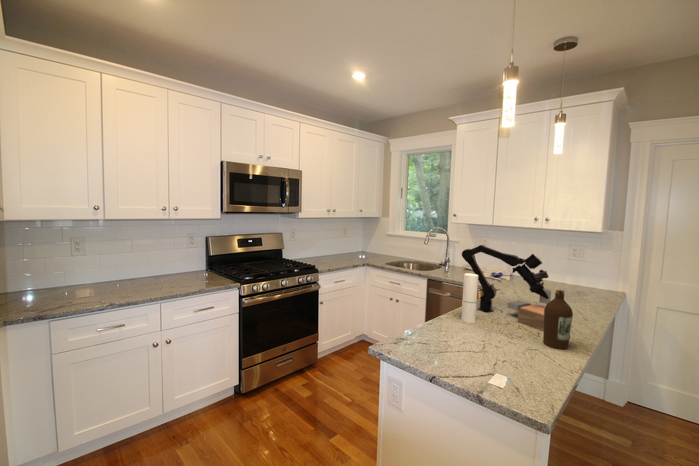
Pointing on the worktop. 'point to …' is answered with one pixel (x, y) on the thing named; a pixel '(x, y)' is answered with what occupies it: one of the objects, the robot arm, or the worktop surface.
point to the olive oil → (557, 322)
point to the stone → (544, 300)
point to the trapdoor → (526, 307)
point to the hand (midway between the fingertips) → (548, 297)
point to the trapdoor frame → (531, 319)
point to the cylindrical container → (469, 297)
